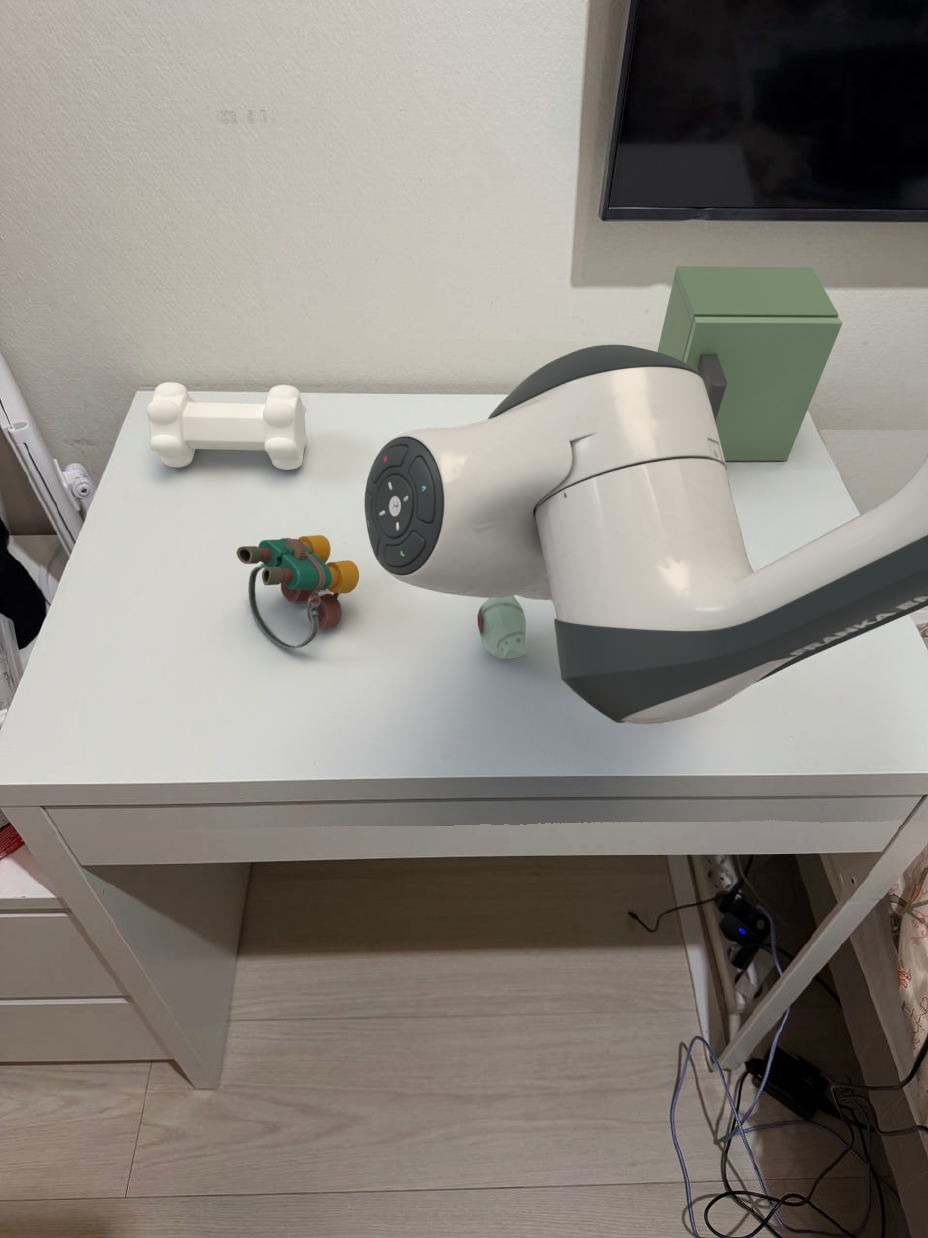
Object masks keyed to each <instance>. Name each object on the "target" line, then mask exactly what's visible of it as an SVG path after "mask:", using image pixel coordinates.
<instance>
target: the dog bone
mask: <svg viewBox="0 0 928 1238" xmlns="http://www.w3.org/2000/svg"><path fill="white" fill-rule="evenodd" d="M301 396H302V395H301V392H300V390H299V389H298V387H297V388H296V387H295V386H293V385H289V384H278V385H275V386H273V387H272V388H270V389H269V390H268V392H267V397H266V401H265V403H244V402H243V403H242V402H241V403H240V402H235V403H234V402H202V401H201V402H197V401H196V402H195V401H194V400H193V398H192V397H191V396H190V394H189V391H188V389H187V388H186V386H185V385H183V384H181V383H179V382H174V381H167V382H162V383H160V384H158V385H157V386H156V387H155V389H154V392H153V396H152V399H151V402H149V404H147V406H146V412H145V413H146V415H147V418H148V428H149V435H150V441H149V447H150V449H151V450H152V451H153V452H154V453H156V454H158V455H159V456H160V460H161V462H162V464H164V465H165V466H166V467H170V468H184V467H187V466H189V465H190V464H191V463H192V462H193V459H194V455H195V453H196V451H197V450H229V451H230V450H231V451H265V452H266V453H267V455H268V456H269V458H270V461H271V463H272V465H273V466H274V467H275V468H277V469H279V470H284V471H289V470H290V471H292V470H296V469H298V468H300V467H301V466H302V464H303V462H304V452H305V448H306V446H307V444H308V438H307V437H308V436H307V434H306V433H307V431H306V412H307V407H306V405H305V404H304V403H303V401H302V398H301Z"/></svg>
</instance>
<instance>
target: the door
mask: <svg viewBox="0 0 928 1238" xmlns="http://www.w3.org/2000/svg"><path fill="white" fill-rule="evenodd" d="M842 326H843V322H842V320H841V318H840V317H838V318H798V317H694V321H693V325H692V329H691V333H690V336H689V340H688V344H687V348H686V352H685V356H684V360H683V362H684V363H686V364H687V365H689V366H690V367H692V368H693V369H695V370H696V371H697V372H698V373H699V374H701V375H702V376H703V378H704V380H705V388H706V391H707V394H708V397H709V400H710V404H711V408H712V411H713V415H714V419H715V423H716V427H717V431H718V435H719V439H720V443H721V447H722V451H723V454H724V458H725V462H761V461H762V462H787V461H788V459H789V456H790V454H791V451H792V449H793V447H794V444H795V441H796V439H797V436H798V434H799V432H800V430H801V428H802V424H803V422H804V421H805V420H804V419H805V416H806V414H807V412H808V409H809V407H810V404H811V403H812V400H813V397H814V395H815V392H816V390H817V387H818V385H819V382H820V380H821V378H822V375H823V372H824V370H825V368H826V365H827V363H828V361H829V358H830V355H831V353H832V350H833V347H834V346H835V343H836V341H837V338H838V335H839V334H840V331H841V328H842Z"/></svg>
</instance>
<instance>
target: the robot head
mask: <svg viewBox="0 0 928 1238" xmlns="http://www.w3.org/2000/svg"><path fill="white" fill-rule="evenodd" d="M476 616H477V618H476V619H477V627H478V631H479V635H480V638H481V639H480V640H481V641H482V643H483V645H484V648H485V649H486V650H487V651H488V652H489V653H490V654H491V655H492V656H494V657H495V658H497V659H498V660H499V659H500V660H508V659H515V658H519V657H524V656H528V653H527V645H526V641H527V620H526V616H525V612H524V609H523V607H522V606H521V604H520V603H519V602H518V599H516V597H515V595H513V596H509V597H503V598H487V599H486V601H485V602H484V603H483V604H482V605H481V606H480V607H479V610H478V612H477V615H476Z"/></svg>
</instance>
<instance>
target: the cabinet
mask: <svg viewBox="0 0 928 1238" xmlns="http://www.w3.org/2000/svg"><path fill="white" fill-rule="evenodd" d="M839 316H840V315H839V313H838V311H837V309H836V307H835V305H834V304H833V302H832V300H831V298H830V297H829V295H828V293H827V291H826V290H825V288H824V286H823V284H822V283H821V281H820V279H819V278H818V276H817V274H816V272H815V271H814V269H813V267H809V266H808V267H807V266H806V267H805V266H799V267H797V266H696V265H695V266H693V265H691V266H690V265H689V266H685V265H683V266H681V265H678V266H677V265H676V268H675V272H674V276H673V281H672V285H671V289H670V294H669V297H668V303H667V306H666V311H665V315H664V321H663V324H662V329H661V333H660V338H659V341H658V342H659V343H658V347H657V350H656V352H659V353H662V354H665V355H668V356H671V357H673V358H676V359H678V360H680V361H682V362H683V360H684V356H685V352H686V348H687V344H688V340H689V336H690V333H691V329H692V325H693V321H694V317H798V318H839Z"/></svg>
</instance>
